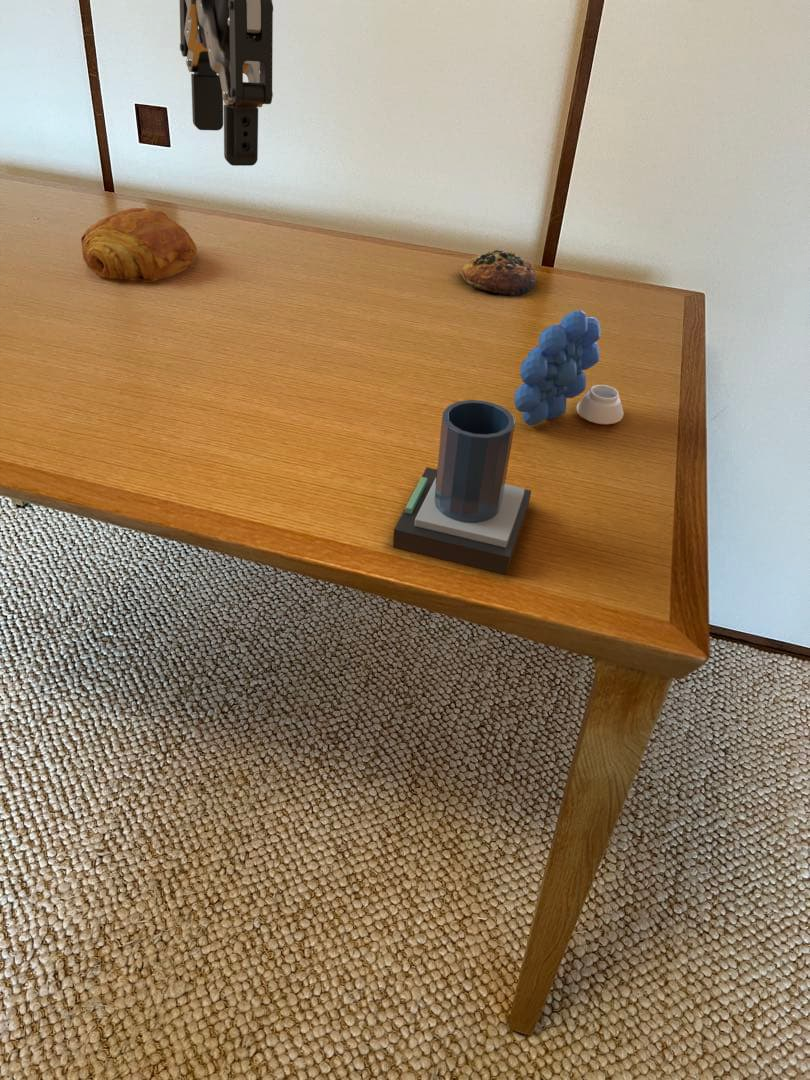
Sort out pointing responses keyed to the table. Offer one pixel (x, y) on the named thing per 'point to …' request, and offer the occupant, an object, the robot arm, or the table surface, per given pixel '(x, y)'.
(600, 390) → the white jar
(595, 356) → the grapes
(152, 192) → the table surface
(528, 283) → the bread roll
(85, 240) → the croissant
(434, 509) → the scale
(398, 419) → the table surface
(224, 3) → the robot arm
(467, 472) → the cup
